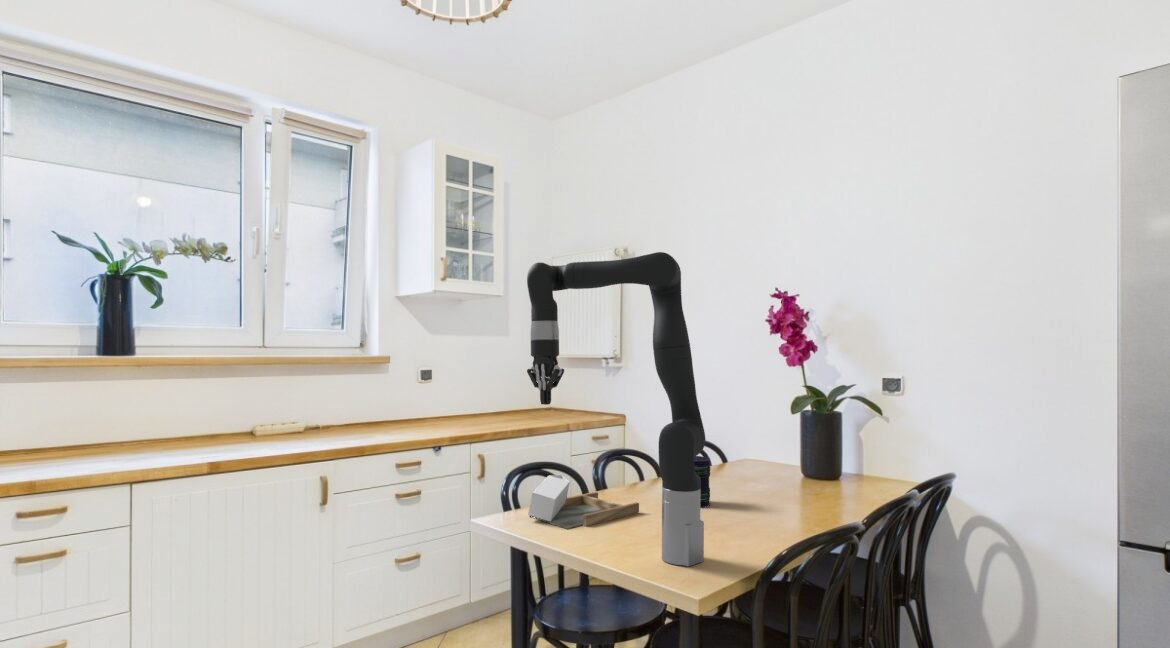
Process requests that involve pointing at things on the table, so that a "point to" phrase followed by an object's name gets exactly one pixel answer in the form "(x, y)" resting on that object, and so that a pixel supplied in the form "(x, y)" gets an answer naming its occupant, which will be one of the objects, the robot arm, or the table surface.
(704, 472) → the dark blue barrel
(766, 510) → the table surface
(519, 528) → the table surface
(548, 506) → the milk carton
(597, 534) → the table surface
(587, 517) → the tray
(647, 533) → the table surface
